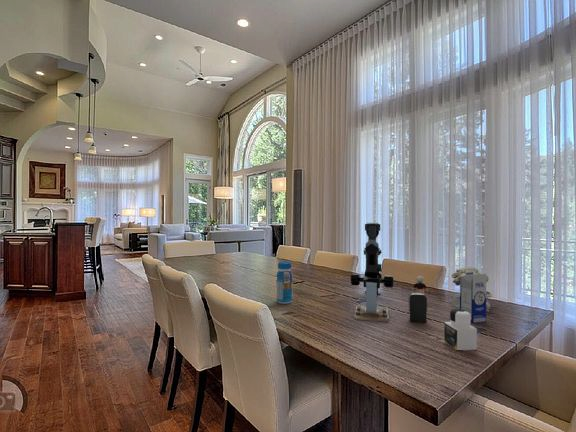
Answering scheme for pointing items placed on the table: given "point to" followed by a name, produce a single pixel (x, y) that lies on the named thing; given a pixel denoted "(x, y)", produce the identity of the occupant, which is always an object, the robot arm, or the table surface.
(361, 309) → the keyhole track
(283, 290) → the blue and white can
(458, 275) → the cherub figurine
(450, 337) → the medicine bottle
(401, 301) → the table surface
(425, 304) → the battery charger
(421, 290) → the grandmother figurine
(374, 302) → the tall pale blue pillar
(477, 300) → the milk carton
